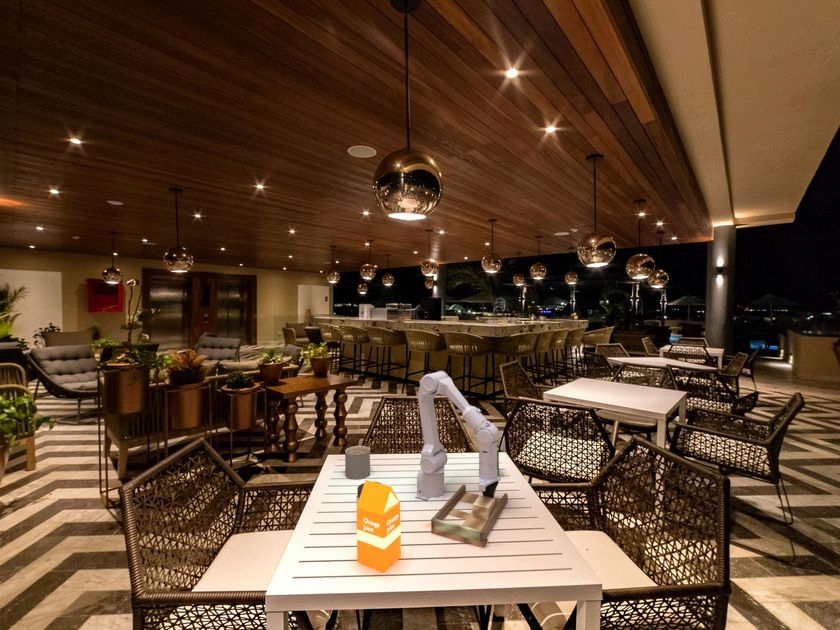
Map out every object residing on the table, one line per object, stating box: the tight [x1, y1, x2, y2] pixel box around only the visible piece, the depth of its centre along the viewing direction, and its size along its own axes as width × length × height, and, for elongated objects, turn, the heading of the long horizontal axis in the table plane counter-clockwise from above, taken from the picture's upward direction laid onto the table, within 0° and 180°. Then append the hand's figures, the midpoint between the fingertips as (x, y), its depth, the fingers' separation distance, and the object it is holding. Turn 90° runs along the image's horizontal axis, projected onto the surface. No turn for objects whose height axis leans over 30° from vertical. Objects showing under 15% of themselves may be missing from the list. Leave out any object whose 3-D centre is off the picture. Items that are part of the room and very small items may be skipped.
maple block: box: [472, 494, 496, 521], centre depth 118 cm, size 5×7×4 cm
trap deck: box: [430, 484, 509, 549], centre depth 118 cm, size 16×26×4 cm, turn 152°
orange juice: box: [356, 479, 402, 574], centre depth 99 cm, size 8×9×20 cm
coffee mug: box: [344, 445, 371, 481], centre depth 155 cm, size 13×10×10 cm
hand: (488, 504), depth 122 cm, fingers closed
